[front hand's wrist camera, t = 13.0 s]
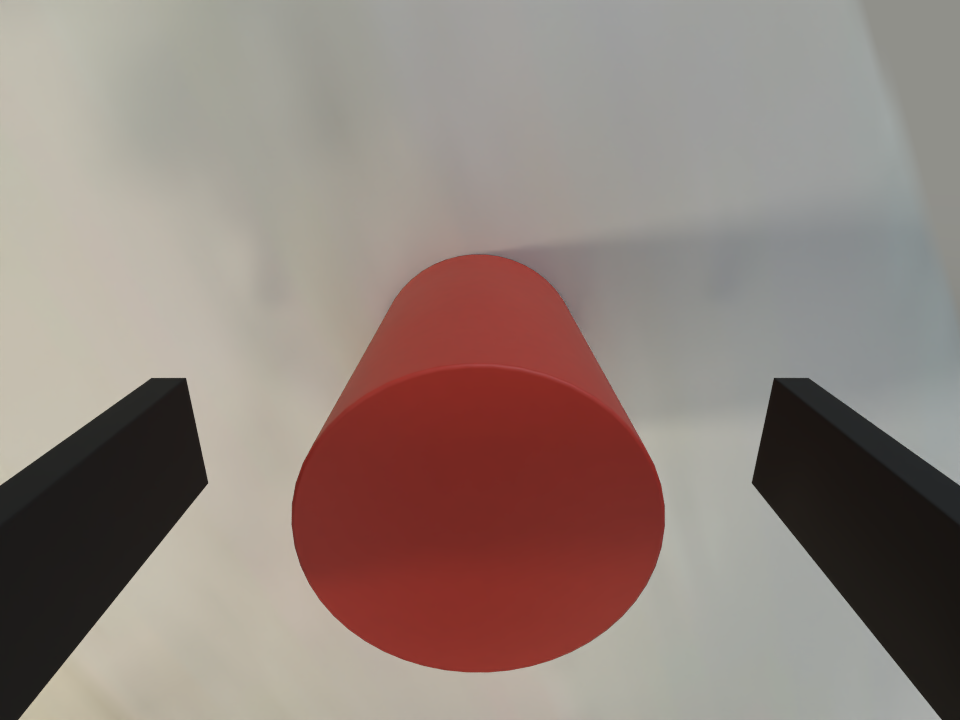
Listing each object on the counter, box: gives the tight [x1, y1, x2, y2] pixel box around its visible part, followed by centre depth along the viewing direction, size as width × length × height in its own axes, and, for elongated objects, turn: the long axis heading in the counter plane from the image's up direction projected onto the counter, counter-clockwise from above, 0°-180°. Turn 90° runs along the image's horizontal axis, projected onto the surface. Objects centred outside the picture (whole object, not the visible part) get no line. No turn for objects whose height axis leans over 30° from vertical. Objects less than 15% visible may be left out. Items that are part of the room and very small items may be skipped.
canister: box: [292, 255, 665, 672], centre depth 14 cm, size 6×6×9 cm
